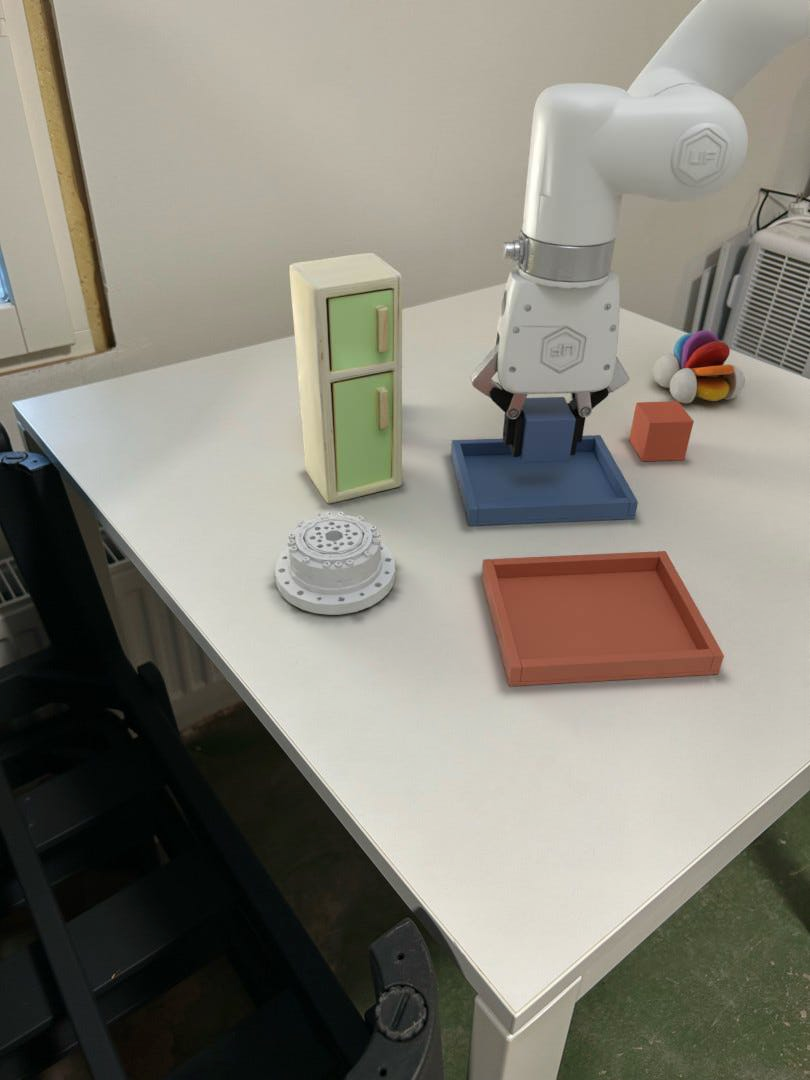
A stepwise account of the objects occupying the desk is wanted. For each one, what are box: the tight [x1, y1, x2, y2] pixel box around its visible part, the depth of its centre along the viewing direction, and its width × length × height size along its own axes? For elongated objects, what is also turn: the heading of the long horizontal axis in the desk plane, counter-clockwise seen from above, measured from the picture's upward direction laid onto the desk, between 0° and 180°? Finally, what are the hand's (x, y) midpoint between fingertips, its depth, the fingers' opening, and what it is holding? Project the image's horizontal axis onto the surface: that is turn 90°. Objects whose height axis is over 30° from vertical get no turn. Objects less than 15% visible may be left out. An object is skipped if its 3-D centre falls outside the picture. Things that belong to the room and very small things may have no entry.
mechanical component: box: [274, 511, 397, 616], centre depth 68 cm, size 10×4×10 cm
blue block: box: [520, 396, 576, 463], centre depth 77 cm, size 4×4×4 cm
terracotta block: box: [628, 400, 695, 462], centre depth 86 cm, size 4×4×4 cm
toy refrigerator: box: [288, 252, 403, 504], centre depth 75 cm, size 8×7×21 cm
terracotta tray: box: [480, 550, 725, 687], centre depth 64 cm, size 16×13×2 cm
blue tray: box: [450, 434, 639, 527], centre depth 80 cm, size 16×13×2 cm
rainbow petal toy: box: [652, 329, 746, 404], centre depth 96 cm, size 8×10×7 cm
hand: (540, 447), depth 78 cm, fingers closed on blue block, 4 cm apart
